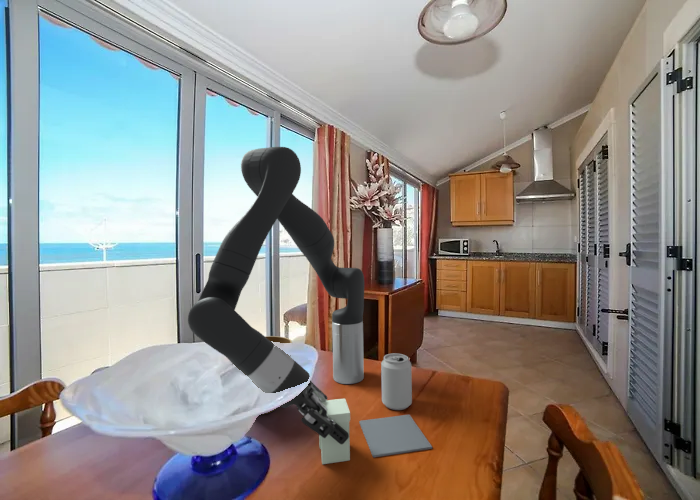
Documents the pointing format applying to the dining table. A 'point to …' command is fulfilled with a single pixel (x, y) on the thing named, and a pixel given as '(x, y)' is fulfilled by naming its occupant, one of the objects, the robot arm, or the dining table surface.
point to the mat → (393, 435)
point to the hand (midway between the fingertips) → (342, 429)
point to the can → (396, 381)
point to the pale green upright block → (329, 445)
